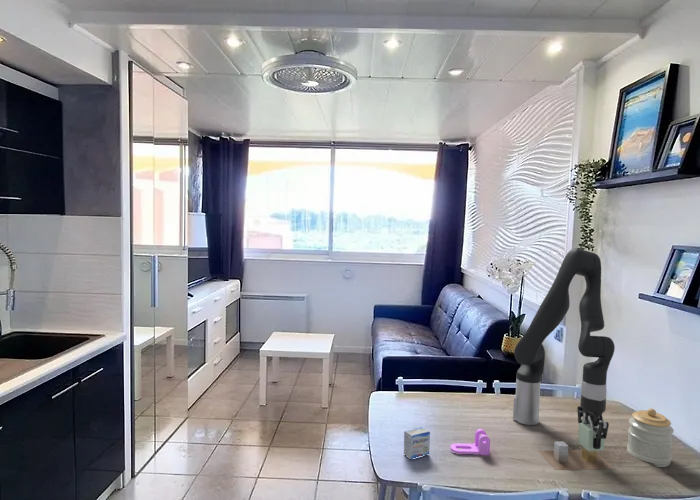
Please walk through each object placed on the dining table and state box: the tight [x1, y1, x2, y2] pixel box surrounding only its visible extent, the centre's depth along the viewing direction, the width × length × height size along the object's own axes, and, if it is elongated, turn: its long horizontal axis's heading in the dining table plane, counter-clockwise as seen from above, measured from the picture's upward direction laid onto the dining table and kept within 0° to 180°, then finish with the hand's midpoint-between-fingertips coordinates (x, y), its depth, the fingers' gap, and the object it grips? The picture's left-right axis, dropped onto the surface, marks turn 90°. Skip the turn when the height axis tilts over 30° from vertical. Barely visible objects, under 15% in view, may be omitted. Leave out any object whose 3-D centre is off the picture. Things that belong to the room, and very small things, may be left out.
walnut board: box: [537, 449, 615, 471], centre depth 155 cm, size 20×12×2 cm, turn 94°
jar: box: [626, 407, 675, 468], centre depth 159 cm, size 13×13×18 cm
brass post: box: [581, 445, 598, 462], centre depth 155 cm, size 3×3×6 cm
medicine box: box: [403, 426, 431, 460], centre depth 158 cm, size 8×4×9 cm, turn 118°
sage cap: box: [577, 423, 606, 452], centre depth 155 cm, size 6×6×7 cm
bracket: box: [449, 428, 491, 456], centre depth 162 cm, size 13×6×7 cm, turn 90°
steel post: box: [553, 440, 570, 462], centre depth 154 cm, size 3×3×6 cm
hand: (590, 443), depth 155 cm, fingers closed on sage cap, 5 cm apart
